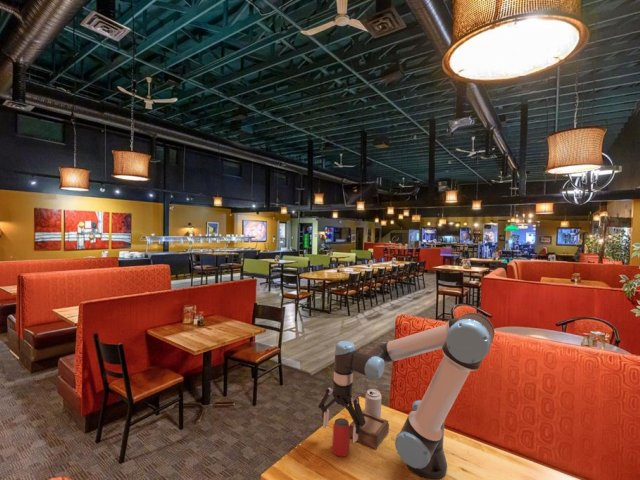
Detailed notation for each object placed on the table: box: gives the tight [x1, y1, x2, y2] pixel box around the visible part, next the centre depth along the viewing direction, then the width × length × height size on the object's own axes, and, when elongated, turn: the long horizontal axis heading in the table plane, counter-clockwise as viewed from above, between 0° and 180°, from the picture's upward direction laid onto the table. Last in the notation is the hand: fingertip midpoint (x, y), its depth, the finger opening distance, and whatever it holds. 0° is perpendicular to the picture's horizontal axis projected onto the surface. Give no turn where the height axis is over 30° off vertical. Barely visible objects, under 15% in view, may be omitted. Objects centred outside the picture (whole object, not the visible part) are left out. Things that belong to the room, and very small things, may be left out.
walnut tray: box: [349, 410, 390, 450], centre depth 137 cm, size 13×13×5 cm
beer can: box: [331, 417, 350, 457], centre depth 125 cm, size 7×7×12 cm
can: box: [364, 388, 382, 418], centre depth 150 cm, size 8×8×12 cm
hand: (340, 433), depth 126 cm, fingers open, 13 cm apart
